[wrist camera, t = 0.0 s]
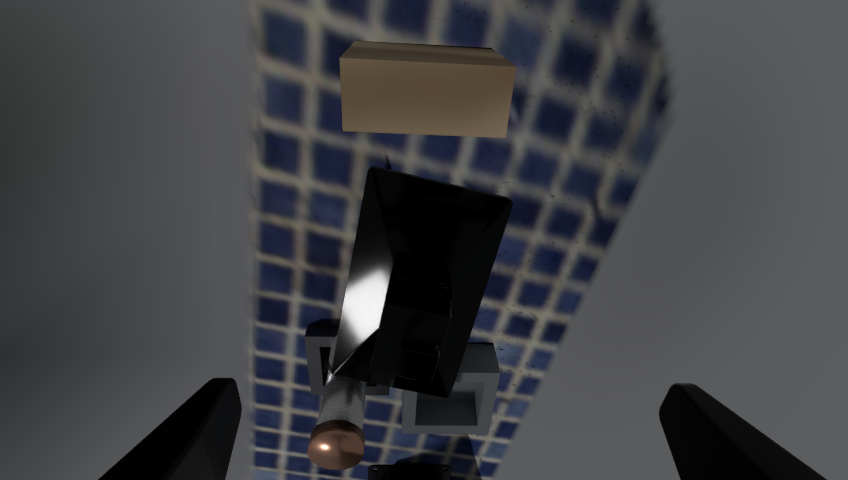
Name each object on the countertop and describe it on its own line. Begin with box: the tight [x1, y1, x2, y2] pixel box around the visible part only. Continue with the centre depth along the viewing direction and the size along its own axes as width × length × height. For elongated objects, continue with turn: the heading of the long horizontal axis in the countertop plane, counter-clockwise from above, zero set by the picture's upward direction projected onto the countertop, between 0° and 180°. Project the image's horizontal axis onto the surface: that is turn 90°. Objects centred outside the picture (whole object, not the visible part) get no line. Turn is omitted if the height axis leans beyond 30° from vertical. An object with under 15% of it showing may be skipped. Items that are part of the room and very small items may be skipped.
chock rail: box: [340, 41, 516, 138], centre depth 17 cm, size 3×6×5 cm, turn 87°
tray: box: [402, 342, 500, 434], centre depth 28 cm, size 6×6×2 cm
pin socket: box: [305, 325, 390, 395], centre depth 27 cm, size 5×5×1 cm
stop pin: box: [308, 365, 367, 470], centre depth 25 cm, size 3×3×7 cm
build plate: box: [329, 166, 513, 398], centre depth 21 cm, size 12×7×5 cm, turn 167°
